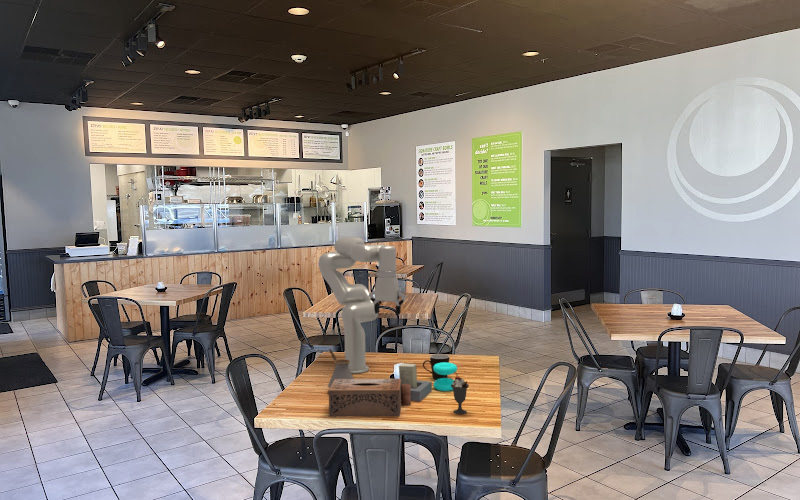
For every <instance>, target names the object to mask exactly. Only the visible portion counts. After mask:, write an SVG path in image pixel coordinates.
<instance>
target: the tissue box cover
mask: <svg viewBox="0 0 800 500" xmlns="http://www.w3.org/2000/svg"><path fill="white" fill-rule="evenodd" d="M401 410H402V405H401V379H400V378H354V379H334V381H333V383H332V385H331V387H330V389H328V415H329V418H330V417H331V418H332V417H336V416H340V417H341V416H365V417H366V418H369V417H371V418H373V417H372V416H401ZM367 416H368V417H367ZM340 417H339V418H340ZM341 418H342V417H341Z"/></svg>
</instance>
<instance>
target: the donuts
mask: <svg viewBox="0 0 800 500" xmlns="http://www.w3.org/2000/svg"><path fill="white" fill-rule="evenodd" d="M433 370H434V371H435V372H436V373H437V374H441V375H447V376H448V375H453V374H455V373H454V372H456V373H457V371H458V366H457V365H456V364H455V363H454V362H453V363H452V362H449V363H447V362H443V363H437V364H435V365H434V367H433ZM454 380H455V379H453V378H449V377H447V378H440V379H437V380H434V382H433V384H432V385H433V387H434V389H436V390H437V391H441V392H451V391H453V388H452V387H451V385H452V384H453V381H454Z"/></svg>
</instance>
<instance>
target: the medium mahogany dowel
mask: <svg viewBox="0 0 800 500" xmlns="http://www.w3.org/2000/svg"><path fill="white" fill-rule="evenodd" d="M411 402H412V401H411V385H410V384H402V385H401V404H402V405H401V406H403V407H405V406H406V407H407V406H411V404H412V403H411Z"/></svg>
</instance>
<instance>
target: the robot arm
mask: <svg viewBox="0 0 800 500" xmlns="http://www.w3.org/2000/svg"><path fill="white" fill-rule="evenodd" d="M333 245H334V246H333V247H334V251H328V252H325V253H323V254H321V255H320V257H319V259H318V269H319V272H320V274H321V276H322V277H323V279H324V280H325V281H326V282H327V284H328V285H329V288H330V289H331V292H332V294H333V295H334V297H335V298H336V299H335V300H336V301H337V302H338V303H339V304H340V305H341V306H343V308H342V310H341V317H342V321H343V322H342V323H343V328H344V329H343V330H344V360H350V362H349V364H348V367H349V369H350V372H351V374H363V373H366V372H368V371H369V370H370V367H369V366H368V365H366V364H367V363H366V333H365V332H366V331H365V330H364V328H363V326H362V323H367V322H372V321H376V319H377V318H378V316H379V313H380V302H392V303H393V302H394V304H395V316H399V315H400V314H401V311H402V309H401V307H402V305H403V304H404V303H405V301H406V299H407V298H408V297H407V295H406V294H404V293H402V292H401V291H400V285H399V280H398V277H397V249H396V247H395V246H394V245H387V244H382V243H380V244H365V241H364V240H363V239H362V238H361V237H359V236H347V237H340V238H338V239H337V240H336V241H335V243H334V244H333ZM357 262H359V263H374V262H378V270H376V271H375V275H377V276H378V277H376V279H375V280H376V281H375V284H374V285H375V286H374V290H373V291H372V292H370V291H369V290H368V288H367V286H366V285H364V284H361V283H354V284H350V283H349V281H348V280H347V278H346V277H345V275H344V274H343V273H342V272H340V271H338V270H339V269H340V270H341V269H348V268H349V269H350V268H352V267H353V266H354V265H355V264H356V263H357ZM400 297H401V300H400Z"/></svg>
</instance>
